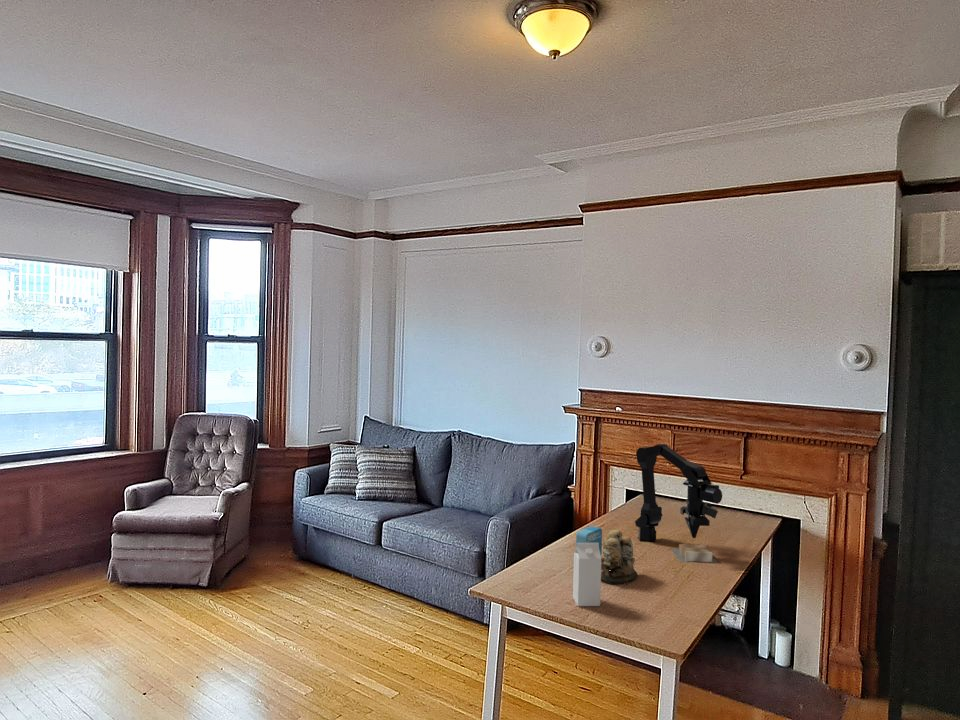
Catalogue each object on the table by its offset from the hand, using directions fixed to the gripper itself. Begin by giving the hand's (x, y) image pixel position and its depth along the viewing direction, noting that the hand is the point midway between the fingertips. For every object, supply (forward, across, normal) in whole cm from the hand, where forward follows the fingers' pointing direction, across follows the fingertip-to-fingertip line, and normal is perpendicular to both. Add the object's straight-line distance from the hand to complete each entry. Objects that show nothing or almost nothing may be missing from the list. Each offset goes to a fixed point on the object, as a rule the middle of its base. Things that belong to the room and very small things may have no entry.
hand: (693, 537), depth 251 cm
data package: (+8, -9, +42) cm, 44 cm away
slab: (+5, +2, 0) cm, 6 cm away
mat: (+8, -1, 0) cm, 8 cm away
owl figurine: (+8, -26, +34) cm, 44 cm away
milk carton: (+8, -49, +48) cm, 69 cm away
